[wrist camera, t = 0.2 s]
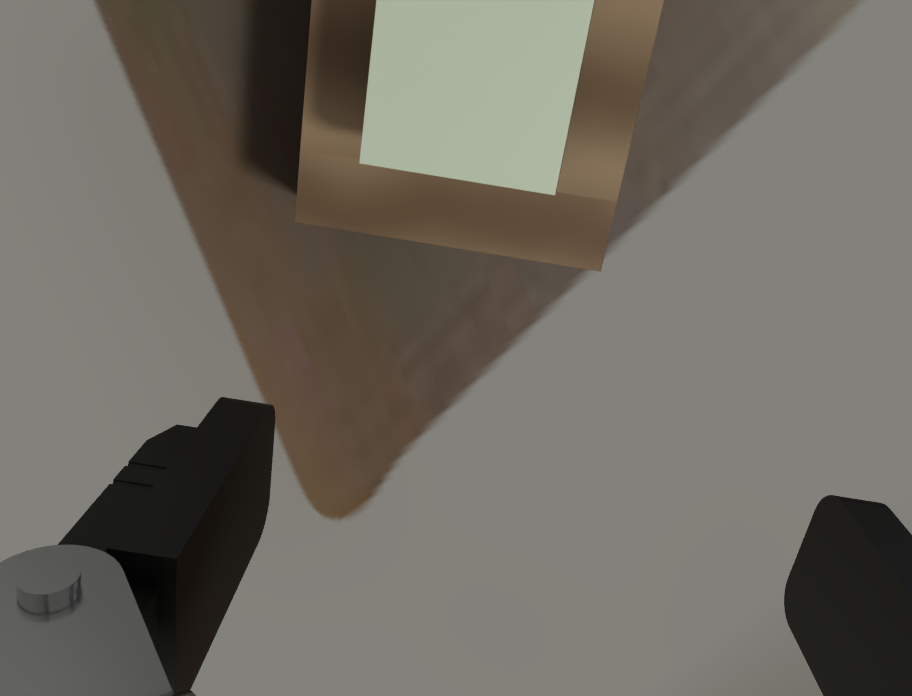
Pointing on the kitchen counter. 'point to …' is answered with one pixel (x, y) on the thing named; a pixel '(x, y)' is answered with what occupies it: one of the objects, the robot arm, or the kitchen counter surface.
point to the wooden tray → (463, 202)
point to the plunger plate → (474, 88)
